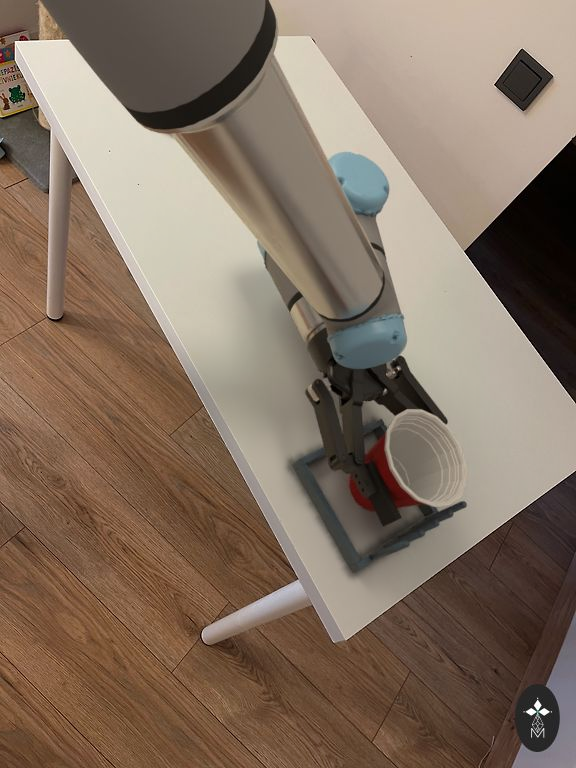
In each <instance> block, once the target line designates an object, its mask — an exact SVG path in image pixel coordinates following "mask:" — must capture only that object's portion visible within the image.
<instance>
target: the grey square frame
mask: <svg viewBox="0 0 576 768" xmlns="http://www.w3.org/2000/svg"><path fill="white" fill-rule="evenodd" d="M387 429H388V427H387V425H386V424H385V421H384V420H383V419H382V418H380V419H377V420H375V421H374V422H371V423H370V424H368V425H365V426H363V434H364V436H367V435H368V434H370V433H372V432H374V434H375V435H376V437H377V438H378V440H379V439H380V438H381V437H382V436H383V434H384V433H385V432H386V430H387ZM323 457H326V452H325V449H324V446H323V447H321V448H319V449H317V450H315V451H313V452H311V453H309V454H307V455H305V456H303V457H301V458H298V459H297V460H296V461H295V462H294V463H292V464H291V466H292V467H293V469H294V471H295V473H296V474H297V477H298V478H299V481H300V482H301V484H302V485H303V487H304V489H305V491H306V493H307V494H308V496H309V498H310V500H311V501H312V503H313V505H314V507H315V508H316V510H317V512H318V514H319V515H320V517H321V519H322V521H323V523H324V524H325V527H326V528H327V531H329V533H330V535H331V537H332V538H333V540H334V542H335V544H336V546H337V548H338V550H339V551H340V553H341V555H342V557H343V558H344V561H346V563H347V565H348V567H349V568H350V570H351V572H352V573H355V572H358V571H361V570H362V569H363V568H365V567H367V566H368V565H370V564H371V563H372V562H375V561H376V560H379V559H381V558H384V557H386V556H389V555H392V554H394V553H396V552H400V551H401V550H404V549H407V548H409V547H410V545H411V542H413V541H416V540H419V539H421V538H424V537H425V536H426V532H429V531H431V530H433V529H436V528H438V527H439V526H440V523H441V522H444V521H447V520H448V519H450V518H451V519H452V518H453V516H454V513H457V512H459V511H461V510H464V509H466V508H467V506H468V504H467V501H465V500H462V501H458V502H457V503H455V504H451V505H449V506H448V507H446V508H444V509H441V510H438V508H437V507H431V506H429V505H426V504H425V505H418V506H419V507H420V509H421V511H422V512H423V514H424V516H423V517H421V518H420V519H418V520H417V521H416V522H414V523H412V524H411V525H410V526H408V527H406V528H404V529H403V530H402V531H400V532H399V533H397V534H396V535H394V536H393V537H391V538H389V539H388V540H386V541H385V542H383V543H382V544H381V545H379V546H377V547H376V548H374V549H373V550H372V551H369V552H368V553H366V554H365V555H364V556H362V557H360V555H359V553H358V552H357V550H356V548H355V546H354V544H353V542H352V541H351V539H350V537H349V536H348V534H347V532H346V531H345V529H344V527H343V526H342V524H341V522H340V520H339V518H338V517H337V514H336V513H335V511H334V509H333V507H332V506H331V504H330V502H329V501H328V499H327V497H326V495H325V494H324V491H322V488H321V487H320V485H319V483H318V481H317V480H316V478H315V476H314V475H313V472H312V470H311V469H310V467H309V466H308V465H310V464H312V463H313V462H315V461H317V460H319V459H321V458H323Z"/></svg>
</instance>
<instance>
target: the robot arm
mask: <svg viewBox="0 0 576 768" xmlns="http://www.w3.org/2000/svg"><path fill="white" fill-rule="evenodd" d="M39 1H40V3H41V4H42V6H43V7H44V8H45V10H46V11H47V12H48V14H49V15H50V16H51V17H52V18H51V19H53V21H54V22H55V23H56V25H57V26H58V28H59V29H60V30H61V31H62V33H63V34H64V36H65V38H66V39H67V40H68V41H69V42H70V43H71V45H72V46H73V48H74V49H75V50H76V51H77V52H78V54H79V55H80V56H81V57H82V58H83V60H84V61H85V63H86V64H87V65H88V66H89V68H91V70H92V71H93V72H94V74H95V75H96V76H97V77H98V78H99V80H100V81H101V82H102V83H103V85H104V86H105V87H106V88H107V89H108V90H109V92H110V93H111V94H112V95H113V96H114V98H116V99H117V101H118V102H119V103H120V104H121V105H122V106H123V107H124V109H125V110H126V111H127V112H128V113H129V114H130V115H131V117H132V118H133V119H134V121H136V122H137V123H138V124H139V125H140V126H141V127H143V128H144V129H146V130H148V131H150V132H153V133H157V134H167V135H170V136H172V138H173V139H174V140H175V141H176V142H177V144H178V145H179V146H180V147H181V149H182V150H183V151H184V152H185V153H186V155H187V156H188V157H189V158H190V159H191V161H192V162H193V163H194V164H195V166H196V167H197V168H198V169H199V170H200V172H201V173H202V174H203V176H204V177H205V178H206V179H207V180H208V181H209V183H210V184H211V185H212V187H213V188H214V189H215V190H216V192H217V193H218V194H219V195H220V196H221V198H222V199H223V200H224V201H225V203H226V204H227V205H228V206H229V207H230V209H231V210H232V211H233V212H234V213H235V215H236V216H237V217H238V218H239V220H240V221H241V222H242V223H243V224H244V226H245V227H246V228H247V229H248V231H249V232H250V233H251V234H252V235H253V237H254V238H255V239H256V244H257V248H258V250H259V253H260V255H261V257H262V259H263V264H264V267H265V269H266V271H267V272H268V273H269V275H270V278H271V279H272V281H273V283H274V285H275V287H276V289H277V291H278V293H279V295H280V296H281V298H282V301H283V302H284V304H285V306H286V308H287V310H288V311H289V314H290V316H291V319H292V320H293V322H294V324H295V326H296V328H297V331H298V332H299V334H300V336H301V338H302V340H303V342H304V343H306V344H307V346H306V348H307V351H308V354H309V355H310V357H311V359H312V361H313V363H314V365H315V367H316V369H317V371H319V373H322V377H323V378H322V379H321V378H315V379H314V380H313V381H312V382H311V384H309V386H307V388H305V390H304V394H305V396H306V398H307V400H308V401H309V402H310V404H311V406H312V407H313V410H314V415H315V418H316V422H317V425H318V430H319V433H320V438H321V441H322V445H323V447H324V449H325V452H326V455H325V457H326V459H327V463H328V467H329V469H330V470H331V471H333V472H337V471H342V472H343V473H344V474H346V475H348V474H350V476H351V475H352V477H353V479H354V481H355V483H356V485H357V487H358V489H359V491H360V493H361V495H362V496H363V497H364V498H367V497H369V499H370V502H371V504H372V506H373V508H374V510H375V511H374V512H375V514H376V516H377V517H378V520H379V522H380V524H381V526H382V527H386V526H387V525H390V524H393V523H394V522H396V521H399V520H400V519H402V518H403V517H402V515H401V513H400V511H399V508H397V507H396V505H395V503H394V501H393V499H392V497H391V495H390V493H389V491H388V489H387V487H386V485H385V483H384V481H383V479H382V477H381V475H380V473H379V471H378V469H377V467H376V465H375V463H374V461H371V462H368V463H367V464H365V455H366V450H365V437H364V434H363V427H364V421H363V405H364V402H372V401H374V402H375V403H376V404H377V405H379V406H383V407H385V409H387V410H388V411H389V412H390V413H391V414H392V415H393V416H394V417H395V416H396V415H398V414H400V413H401V412H403V411H405V410H407V409H422V410H424V411H426V412H428V413H430V414H433V415H435V416H437V417H438V418H439V419H440V420H441V421H442V422H443V423H444V424H446V425H447V426H448V423H449V421H448V418H447V417H446V415H445V414H444V413H443V411H442V410H441V409H440V408H439V406H438V405H437V404H436V402H435V401H434V400H433V399H432V398H431V396H430V395H429V393H428V392H427V391H426V390H425V389H424V387H423V386H422V385H421V383H420V382H419V380H418V379H417V378H416V377H415V376H414V373H412V371H411V369H410V367H409V364H408V362H407V360H406V358H405V357H404V356H403V355H401V354H402V353H403V352H404V350H405V349H406V346H407V344H408V336H407V331H406V326H405V322H404V320H405V315H404V314H403V313H402V310H401V306H400V303H399V300H398V296H397V293H396V289H395V286H394V282H393V278H392V275H391V272H390V268H389V265H388V262H387V256H386V250H385V247H384V244H383V240H382V236H381V233H380V229H379V226H378V222H377V216H378V214H380V213H381V212H382V211H383V209H384V206H385V204H386V203H387V201H388V199H389V194H390V184H389V180H388V178H387V175H386V173H384V171H383V169H381V167H380V166H379V165H378V164H376V163H375V162H374V161H373V160H371V159H370V158H368V157H367V156H365V155H363V154H360V153H354V152H352V151H341V152H337V153H335V154H333V155H331V156H330V157H329V158H328V157H327V155H326V153H325V151H324V150H323V149H324V148H323V147H322V145H321V143H320V141H319V139H318V137H317V135H316V133H315V131H314V130H313V127H312V126H311V124H310V122H309V120H308V118H307V116H306V114H305V112H304V110H303V108H302V106H301V104H300V101H298V98H297V96H296V94H295V92H294V90H293V88H292V86H291V84H290V83H289V80H288V79H287V76H286V74H285V72H284V71H283V69H282V67H281V64H280V63H279V61H278V59H277V57H276V55H275V51H276V48H277V43H278V39H279V25H278V24H279V23H278V18H277V16H276V12H275V10H274V8H273V6H272V4H271V1H270V0H39ZM332 393H334V394H335V395H336V396H338V408H339V414H341V423H340V419H339V415H338V411H337V408H336V404H335V400H334V397H333V396H332ZM341 424H342V425H341Z"/></svg>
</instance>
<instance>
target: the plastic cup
mask: <svg viewBox="0 0 576 768" xmlns="http://www.w3.org/2000/svg"><path fill="white" fill-rule="evenodd" d="M387 428H388V429H387V430H386V432H385V433H384V434H383V436H382V437H381V438H380V439H379V438H378V440H377V442H376V443H375V444H374V445H373V446H372V447H371V448H370V449H369V450H368V451H367V453H365V464H367V463H368V462H371V461H374V463H375V465H376V467H377V469H378V471H379V473H380V475H381V477H382V479H383V481H384V483H385V485H386V487H387V489H388V491H389V493H390V495H391V497H392V499H393V501H394V503H395V505H396V507H397V509H402V508H408V507H413V506H419V505H425V504H426V505H429V506H431V507H436V508H437V507H446V506H448V507H449V506H452V505H453V503H455V502H456V501H457V500H459V499H460V498H461V497H462V496H463V493H464V490H465V487H466V485H467V482H468V464H467V461H466V458H465V455H464V450H463V448H462V445H461V443H460V442H459V441H458V438H457V437H456V436H455V434H454V432H453V431H452V429H451V428H450V427H449V426H448V424H447V425H446V424H444V423H443V422H442V421H441V420H440V419H439V418H438V417H437V416H435V415H433V414H430V413H428V412H426V411H424V410H422V409H407V410H405V411H403V412H401V413H400V414H398V415H396V416H395V415H394V416H393V418H392V419H391V421H390V424H389V425H388V427H387ZM348 488H349V491H350V496H351V497H352V498H353V500H354V501H355V503H356V504H357V505H358V506H360V508H362V509H364V510H367V511H370V512H375V510H374V508H373V506H372V504H371V502H370V499H369V497H367V498H364V497H363V496H362V495H361V493H360V491H359V489H358V487H357V485H356V483H355V481H354V479H353V477H352V475H351V474H350V476H349V481H348Z"/></svg>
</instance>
